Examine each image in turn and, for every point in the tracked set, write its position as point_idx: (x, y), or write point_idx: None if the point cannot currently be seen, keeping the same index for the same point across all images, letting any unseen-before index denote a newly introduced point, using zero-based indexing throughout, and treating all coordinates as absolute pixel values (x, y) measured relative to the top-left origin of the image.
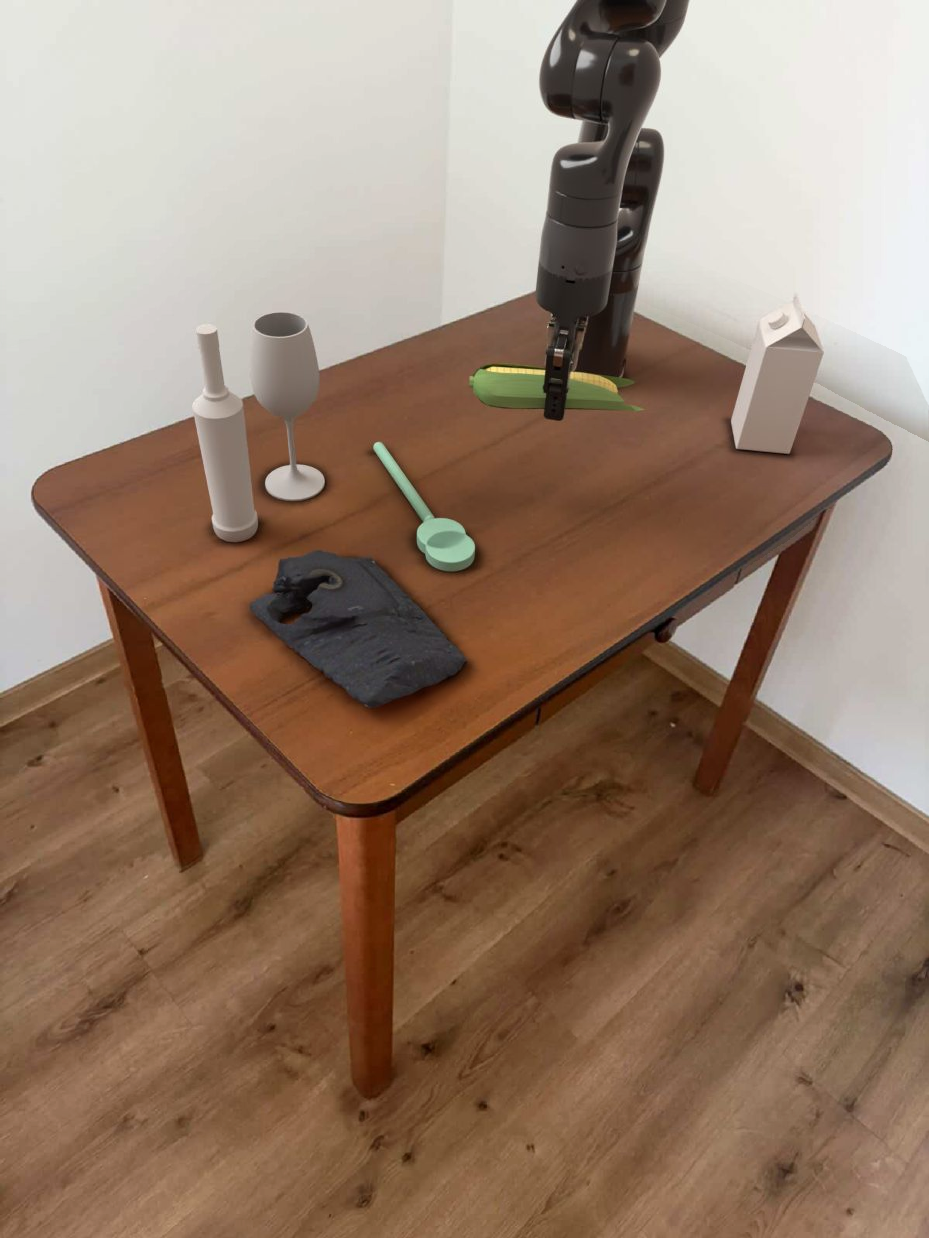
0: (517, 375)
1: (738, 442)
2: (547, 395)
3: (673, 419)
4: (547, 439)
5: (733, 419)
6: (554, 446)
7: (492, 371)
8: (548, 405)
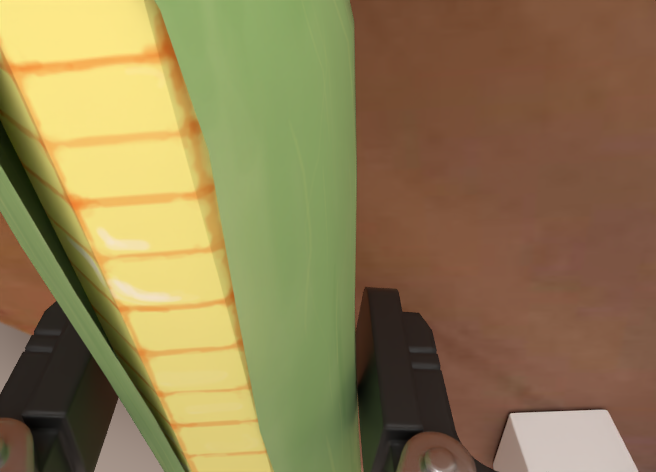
0: (58, 266)
1: (513, 426)
2: (41, 381)
3: (631, 332)
4: (581, 68)
5: (594, 422)
6: (541, 91)
7: (22, 10)
8: (22, 355)
